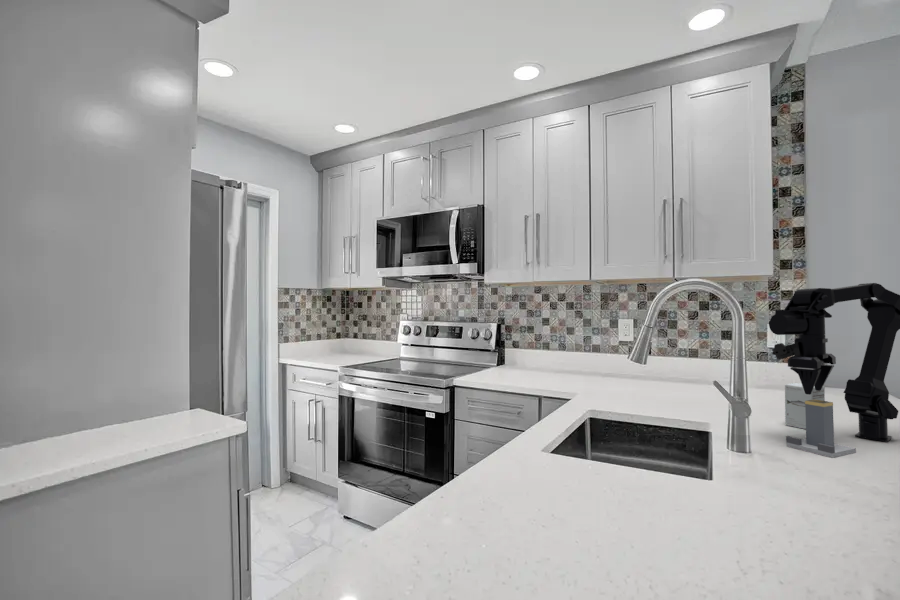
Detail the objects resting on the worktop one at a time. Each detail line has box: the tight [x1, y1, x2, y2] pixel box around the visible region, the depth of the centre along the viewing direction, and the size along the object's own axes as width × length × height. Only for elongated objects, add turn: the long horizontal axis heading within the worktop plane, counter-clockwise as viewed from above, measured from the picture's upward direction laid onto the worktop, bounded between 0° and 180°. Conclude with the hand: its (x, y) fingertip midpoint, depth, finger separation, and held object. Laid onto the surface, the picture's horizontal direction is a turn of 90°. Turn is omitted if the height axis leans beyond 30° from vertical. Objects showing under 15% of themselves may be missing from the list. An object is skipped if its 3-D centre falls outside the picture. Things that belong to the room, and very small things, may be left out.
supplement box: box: [784, 382, 826, 430], centre depth 133 cm, size 7×7×13 cm
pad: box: [785, 435, 857, 459], centre depth 111 cm, size 10×10×2 cm
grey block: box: [805, 399, 835, 447], centre depth 111 cm, size 4×4×11 cm
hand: (813, 392), depth 118 cm, fingers open, 9 cm apart
